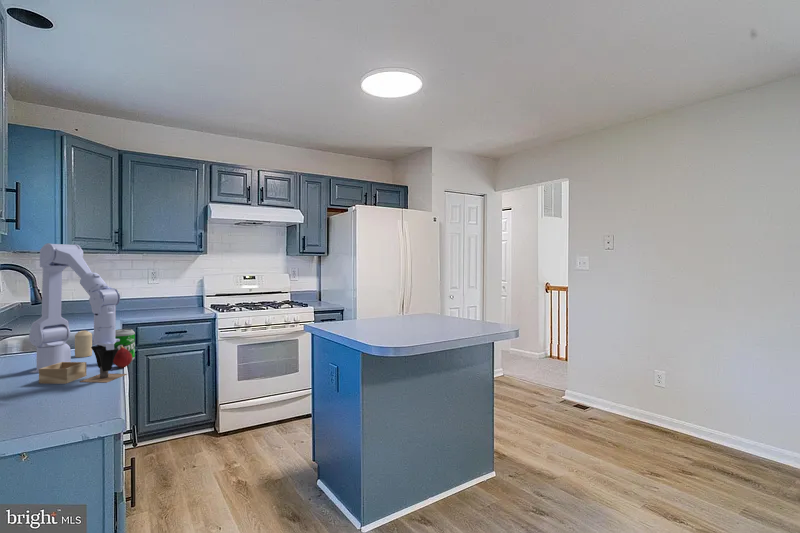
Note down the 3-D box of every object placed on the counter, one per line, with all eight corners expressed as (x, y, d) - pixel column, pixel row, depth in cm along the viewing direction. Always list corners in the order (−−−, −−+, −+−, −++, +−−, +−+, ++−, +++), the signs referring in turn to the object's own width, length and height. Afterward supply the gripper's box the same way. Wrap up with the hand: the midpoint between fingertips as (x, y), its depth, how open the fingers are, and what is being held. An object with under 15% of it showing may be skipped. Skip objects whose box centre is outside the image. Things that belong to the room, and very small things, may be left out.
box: (61, 377, 141) (61, 361, 141) (86, 377, 141) (86, 362, 141) (38, 385, 132) (38, 368, 132) (65, 385, 132) (65, 369, 132)
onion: (135, 366, 155) (135, 344, 155) (126, 370, 150) (126, 347, 149) (119, 366, 155) (119, 344, 155) (108, 370, 149) (108, 347, 149)
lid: (101, 376, 143) (101, 362, 143) (127, 377, 143) (127, 363, 143) (79, 385, 134) (79, 370, 134) (106, 385, 133) (106, 370, 133)
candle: (91, 356, 170) (92, 331, 170) (74, 358, 167) (74, 332, 167) (92, 354, 175) (92, 329, 175) (75, 355, 172) (75, 330, 172)
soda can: (108, 365, 157) (109, 332, 157) (113, 360, 164) (113, 329, 164) (133, 363, 160) (133, 331, 160) (136, 359, 167) (136, 328, 167)
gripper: (125, 328, 136) (125, 371, 136) (113, 323, 146) (113, 363, 146) (98, 330, 131) (98, 375, 131) (88, 325, 141) (88, 366, 141)
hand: (104, 369), depth 138 cm, fingers open, 5 cm apart
